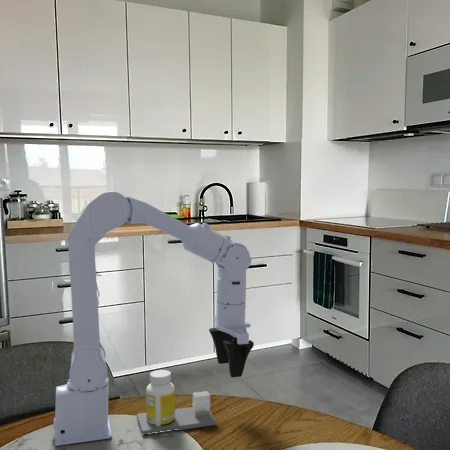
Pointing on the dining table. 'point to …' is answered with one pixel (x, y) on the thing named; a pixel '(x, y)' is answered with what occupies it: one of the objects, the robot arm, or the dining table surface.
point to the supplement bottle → (160, 399)
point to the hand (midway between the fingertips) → (229, 369)
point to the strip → (184, 416)
